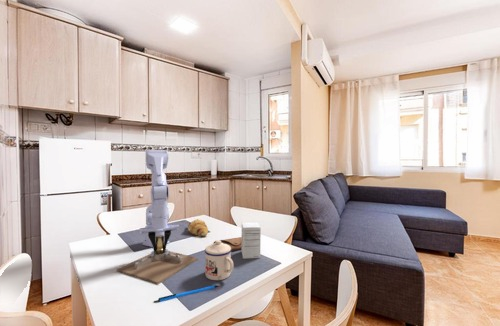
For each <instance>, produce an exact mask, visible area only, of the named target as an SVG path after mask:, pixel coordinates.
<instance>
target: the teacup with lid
mask: <svg viewBox="0 0 500 326" xmlns="http://www.w3.org/2000/svg"><path fill="white" fill-rule="evenodd" d="M220 240H221V239H217V240H215V241H214V242H215V243H214V242H213V243H214V244H213V243H211V244H208V245H207V246H206V247H205V249H204V253H205V254H204V255H205V256H204V259H205V261H204V262H205V263H204V264H205V265H204V266H205V270H204V271H205V274H204V275H205V277H206V278H207V279H209V280H211V281H223V280H225V279H226V280H227V278H229V277H230V275H231V273H232V272H233V270H234V267H235V266H234V261H233V259H232V258H231V257H232V256H231V253H232V252H231V247H230V246H229V245H227V244H224V243H221V241H220Z"/></svg>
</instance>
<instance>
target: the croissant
mask: <svg viewBox="0 0 500 326" xmlns="http://www.w3.org/2000/svg"><path fill="white" fill-rule="evenodd" d="M187 229H188V232H189V233H190V234H192V235H196V236H199V237H207V235H208V233H209V228H208V226H207V224H206V222H205V221H204V220H202V219H194V220H193V221H190V222H189V223H188V226H187Z"/></svg>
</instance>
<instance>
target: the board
mask: <svg viewBox="0 0 500 326" xmlns="http://www.w3.org/2000/svg"><path fill="white" fill-rule="evenodd" d="M168 251H169V253H171V254H173V255H179V256H181V257H182V262H181V263H178V262H174V261H171V260H167V259H164V260H160V261H152V262H150V263H148V264H146V265H144V266H142V267H140V268H138V269H135V263H136V262H138V261H139V260H143V259H145V258H147V257H148V256H151V253H148V254H147V255H145V256H142V257H140V258H138V259H136V260H134V261H132V262H130V263H127V264H125V265H122V266H120V267H119V268H116V272H119V273H122V274H124V275H125V274H126V275H129V276H131V277H135V278H138V279H140V280H141V279H142V280H144V281H147V282H150V283H153V284H157V285H159V284H161V283H162V282H165V280H167V279H169V278H170V277H172V276H174V275H175V274H177V273H179V272H180V271H182V270H183V269H185V268H186V267H189V265H191V264H193V263H194V262H196V261H197V260H199V258H198V257H196V256H192V255H191V256H190V255H187V254H183V253H178V252H174V251H170V250H168Z"/></svg>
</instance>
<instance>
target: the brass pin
mask: <svg viewBox="0 0 500 326" xmlns="http://www.w3.org/2000/svg"><path fill="white" fill-rule="evenodd" d="M163 253H164V236H163V235H160V236H156V254H163Z"/></svg>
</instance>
